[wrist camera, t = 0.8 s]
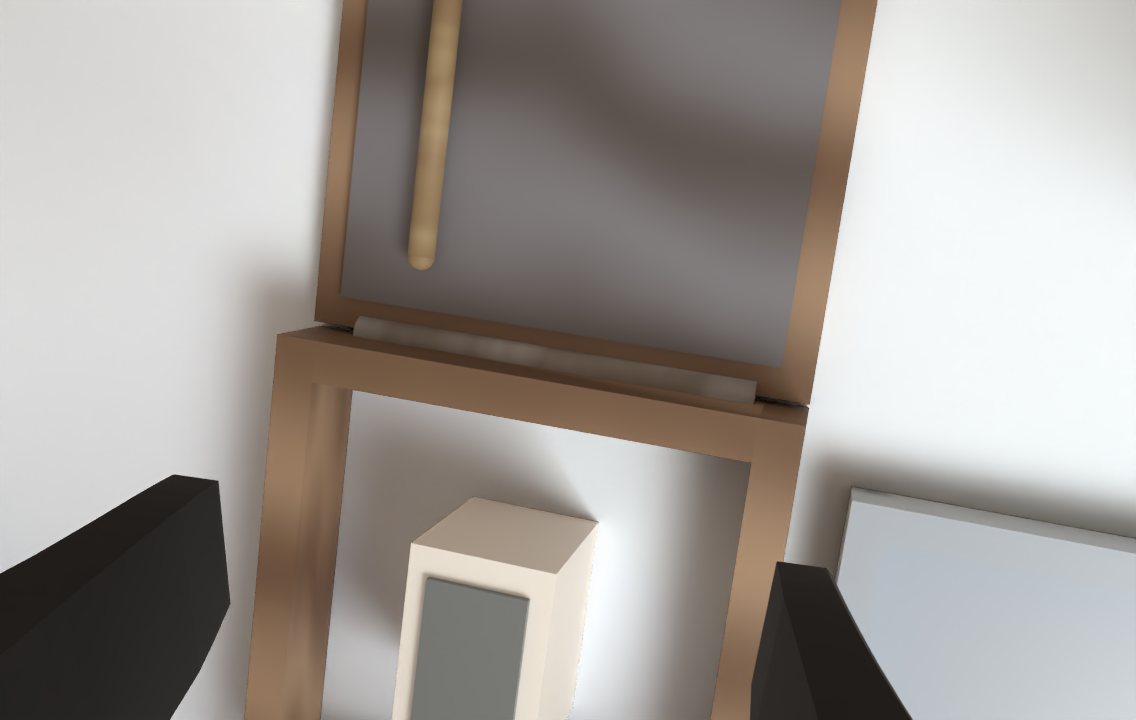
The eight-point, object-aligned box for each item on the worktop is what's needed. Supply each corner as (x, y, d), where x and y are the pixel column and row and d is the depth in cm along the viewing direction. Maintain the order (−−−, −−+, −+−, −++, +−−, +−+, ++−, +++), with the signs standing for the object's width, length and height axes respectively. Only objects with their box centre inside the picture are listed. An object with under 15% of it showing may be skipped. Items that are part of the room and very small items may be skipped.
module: (573, 706, 33) (526, 793, 28) (452, 677, 34) (385, 756, 29) (599, 521, 32) (554, 577, 27) (473, 496, 33) (408, 545, 28)
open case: (728, 889, 32) (717, 949, 30) (282, 766, 36) (236, 811, 33) (905, -165, 28) (912, -207, 25) (370, -191, 31) (325, -231, 28)
